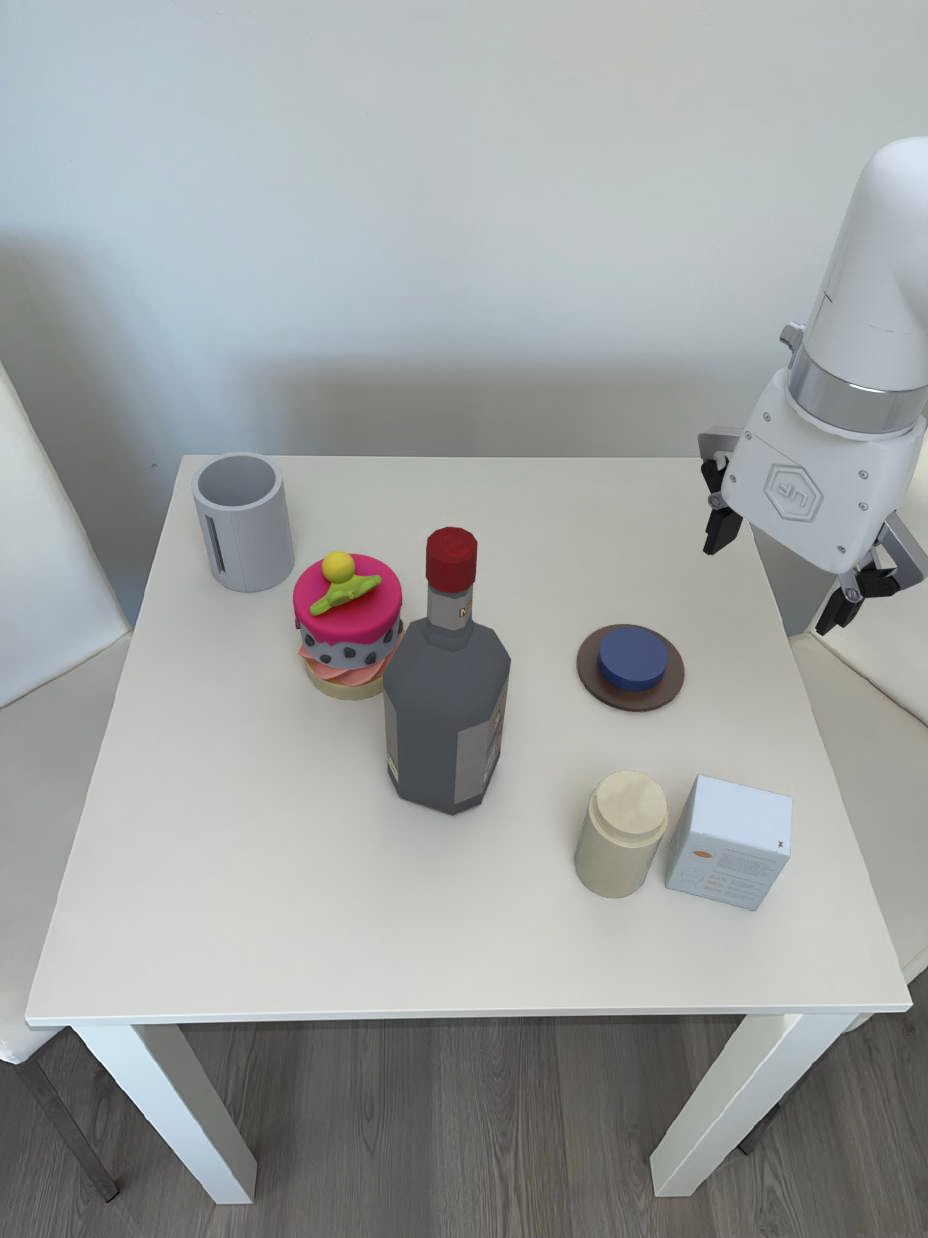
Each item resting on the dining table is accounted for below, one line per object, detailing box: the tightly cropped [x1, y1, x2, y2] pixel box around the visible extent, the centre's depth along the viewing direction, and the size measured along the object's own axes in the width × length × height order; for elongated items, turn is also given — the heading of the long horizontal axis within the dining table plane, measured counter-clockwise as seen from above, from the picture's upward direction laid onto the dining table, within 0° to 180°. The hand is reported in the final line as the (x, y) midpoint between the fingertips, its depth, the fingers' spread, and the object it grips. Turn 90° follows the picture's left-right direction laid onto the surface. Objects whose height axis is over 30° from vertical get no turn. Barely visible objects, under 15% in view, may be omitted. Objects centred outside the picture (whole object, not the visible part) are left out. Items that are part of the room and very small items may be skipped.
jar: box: [573, 770, 669, 899], centre depth 78 cm, size 6×6×11 cm
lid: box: [597, 627, 668, 691], centre depth 95 cm, size 7×7×2 cm
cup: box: [190, 450, 296, 593], centre depth 100 cm, size 9×9×12 cm
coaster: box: [576, 623, 686, 713], centre depth 96 cm, size 11×11×1 cm
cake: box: [292, 550, 405, 701], centre depth 90 cm, size 10×11×15 cm
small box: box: [664, 774, 794, 911], centre depth 78 cm, size 8×6×10 cm
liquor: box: [383, 526, 512, 816], centre depth 76 cm, size 9×9×30 cm
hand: (772, 583), depth 66 cm, fingers open, 9 cm apart
